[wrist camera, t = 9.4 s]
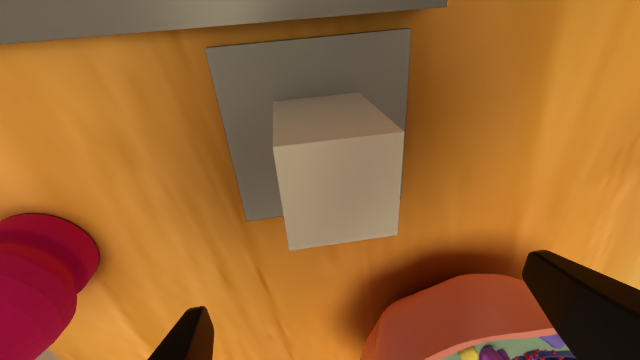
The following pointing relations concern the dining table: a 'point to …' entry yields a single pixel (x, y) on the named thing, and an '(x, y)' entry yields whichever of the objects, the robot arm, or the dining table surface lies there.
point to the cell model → (466, 324)
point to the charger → (336, 169)
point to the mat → (299, 95)
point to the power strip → (169, 15)
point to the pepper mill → (40, 281)
